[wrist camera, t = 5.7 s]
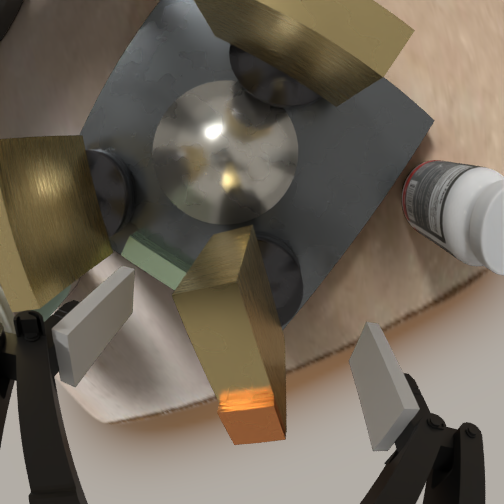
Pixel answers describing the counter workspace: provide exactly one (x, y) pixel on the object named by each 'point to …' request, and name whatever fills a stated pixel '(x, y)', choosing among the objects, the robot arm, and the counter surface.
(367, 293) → the counter surface
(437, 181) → the pill bottle
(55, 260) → the foot screw
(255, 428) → the tan bar on disc
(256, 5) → the foot screw
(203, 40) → the plate
